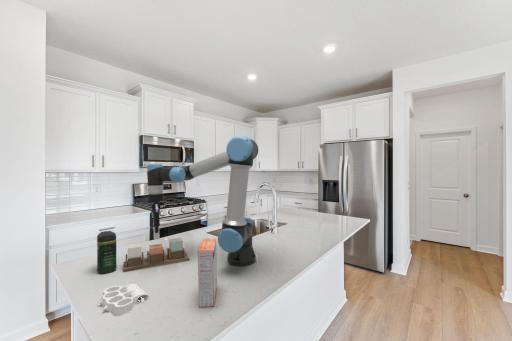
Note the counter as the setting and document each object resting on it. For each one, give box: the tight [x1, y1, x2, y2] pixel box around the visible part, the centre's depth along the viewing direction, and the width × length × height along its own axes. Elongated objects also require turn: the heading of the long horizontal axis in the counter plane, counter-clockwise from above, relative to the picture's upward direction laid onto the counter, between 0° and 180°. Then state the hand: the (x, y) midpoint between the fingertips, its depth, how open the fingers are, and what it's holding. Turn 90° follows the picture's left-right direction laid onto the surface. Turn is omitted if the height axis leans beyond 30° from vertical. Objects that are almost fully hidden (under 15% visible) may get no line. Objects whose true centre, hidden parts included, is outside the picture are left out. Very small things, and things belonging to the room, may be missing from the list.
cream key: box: [127, 242, 142, 260], centre depth 121 cm, size 6×6×6 cm
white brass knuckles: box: [97, 283, 149, 316], centre depth 90 cm, size 3×18×15 cm
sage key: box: [168, 237, 184, 252], centre depth 130 cm, size 6×6×6 cm
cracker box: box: [197, 238, 218, 308], centre depth 93 cm, size 14×6×21 cm, turn 5°
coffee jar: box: [96, 230, 117, 274], centre depth 117 cm, size 10×8×19 cm
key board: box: [122, 247, 190, 273], centre depth 126 cm, size 10×31×6 cm, turn 117°
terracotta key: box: [148, 243, 164, 255], centre depth 126 cm, size 6×6×6 cm
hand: (156, 238), depth 125 cm, fingers closed
